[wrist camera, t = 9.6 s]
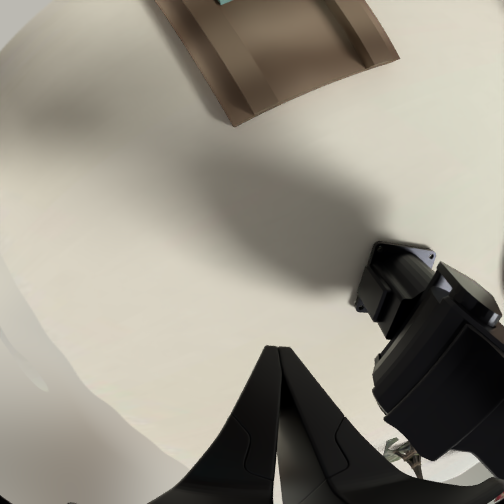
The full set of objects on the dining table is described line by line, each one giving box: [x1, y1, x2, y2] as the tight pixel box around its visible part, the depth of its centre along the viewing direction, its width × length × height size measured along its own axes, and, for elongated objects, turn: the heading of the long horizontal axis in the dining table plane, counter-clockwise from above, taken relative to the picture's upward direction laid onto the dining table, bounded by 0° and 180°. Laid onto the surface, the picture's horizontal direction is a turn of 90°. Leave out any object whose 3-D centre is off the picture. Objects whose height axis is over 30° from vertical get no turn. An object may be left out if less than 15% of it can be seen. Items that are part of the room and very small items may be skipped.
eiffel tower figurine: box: [384, 438, 423, 479], centre depth 32 cm, size 15×10×13 cm
